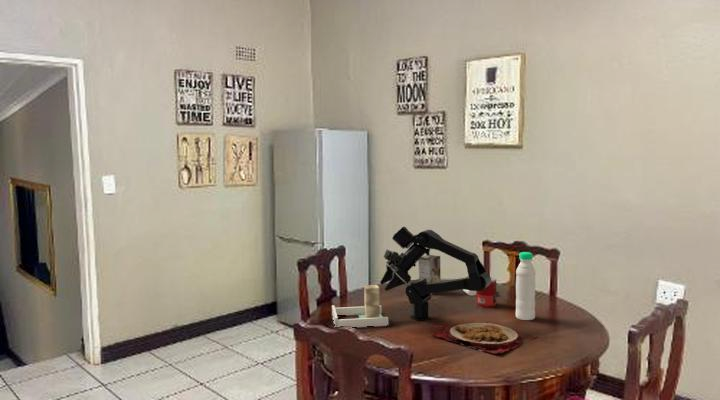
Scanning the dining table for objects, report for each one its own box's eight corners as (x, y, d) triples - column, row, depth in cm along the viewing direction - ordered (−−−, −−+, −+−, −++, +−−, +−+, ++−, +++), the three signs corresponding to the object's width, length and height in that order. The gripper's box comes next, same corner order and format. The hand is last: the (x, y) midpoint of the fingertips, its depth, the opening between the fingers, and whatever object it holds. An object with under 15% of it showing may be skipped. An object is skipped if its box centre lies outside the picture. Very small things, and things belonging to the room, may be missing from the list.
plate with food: (499, 359, 164) (499, 348, 164) (430, 337, 183) (431, 327, 182) (537, 340, 181) (538, 330, 181) (471, 321, 200) (471, 312, 200)
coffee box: (428, 288, 247) (428, 254, 246) (441, 290, 243) (440, 255, 242) (418, 292, 240) (418, 257, 239) (431, 294, 236) (430, 259, 235)
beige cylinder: (377, 316, 205) (377, 284, 204) (379, 320, 200) (379, 287, 199) (364, 317, 205) (364, 285, 203) (366, 321, 200) (365, 288, 198)
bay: (381, 312, 211) (381, 302, 211) (388, 325, 195) (388, 315, 195) (332, 315, 208) (331, 305, 208) (335, 328, 193) (335, 317, 192)
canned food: (498, 307, 216) (498, 280, 215) (478, 307, 216) (478, 280, 215) (493, 302, 223) (493, 276, 222) (474, 302, 223) (474, 276, 222)
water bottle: (536, 321, 197) (537, 254, 195) (516, 320, 199) (517, 254, 196) (533, 315, 204) (534, 251, 202) (514, 314, 206) (515, 250, 203)
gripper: (391, 238, 210) (364, 267, 209) (402, 246, 192) (372, 278, 191) (410, 257, 212) (383, 286, 211) (423, 267, 193) (393, 298, 193)
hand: (383, 286), depth 201 cm, fingers open, 9 cm apart
